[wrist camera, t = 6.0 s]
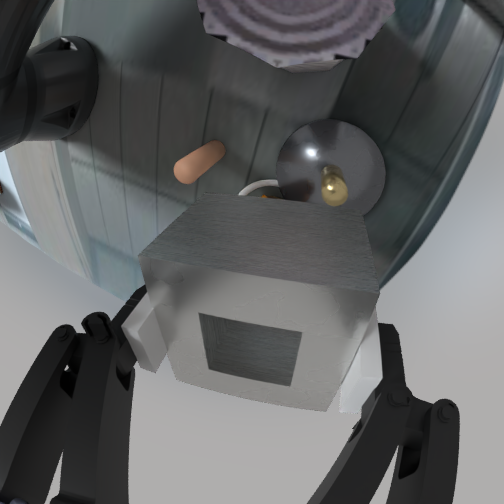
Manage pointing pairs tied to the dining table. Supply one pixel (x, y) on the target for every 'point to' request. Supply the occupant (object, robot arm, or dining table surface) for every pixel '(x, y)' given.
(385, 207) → the dining table surface
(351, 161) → the hub
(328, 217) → the collar
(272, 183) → the hamburger
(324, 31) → the can
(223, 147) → the sausage
